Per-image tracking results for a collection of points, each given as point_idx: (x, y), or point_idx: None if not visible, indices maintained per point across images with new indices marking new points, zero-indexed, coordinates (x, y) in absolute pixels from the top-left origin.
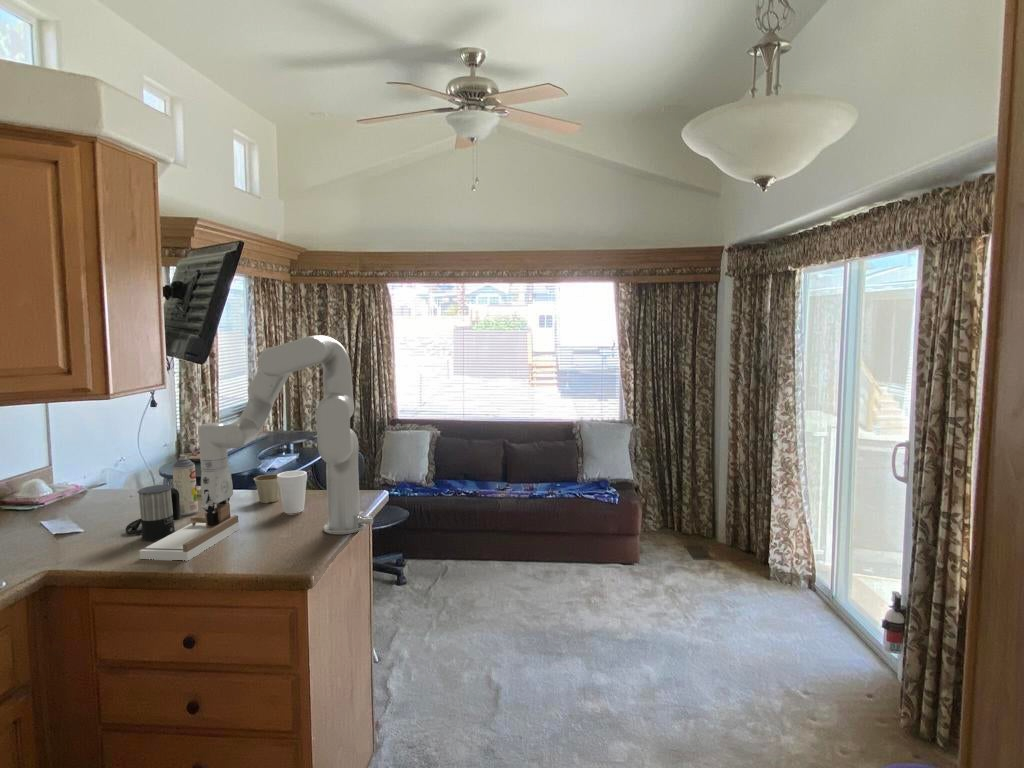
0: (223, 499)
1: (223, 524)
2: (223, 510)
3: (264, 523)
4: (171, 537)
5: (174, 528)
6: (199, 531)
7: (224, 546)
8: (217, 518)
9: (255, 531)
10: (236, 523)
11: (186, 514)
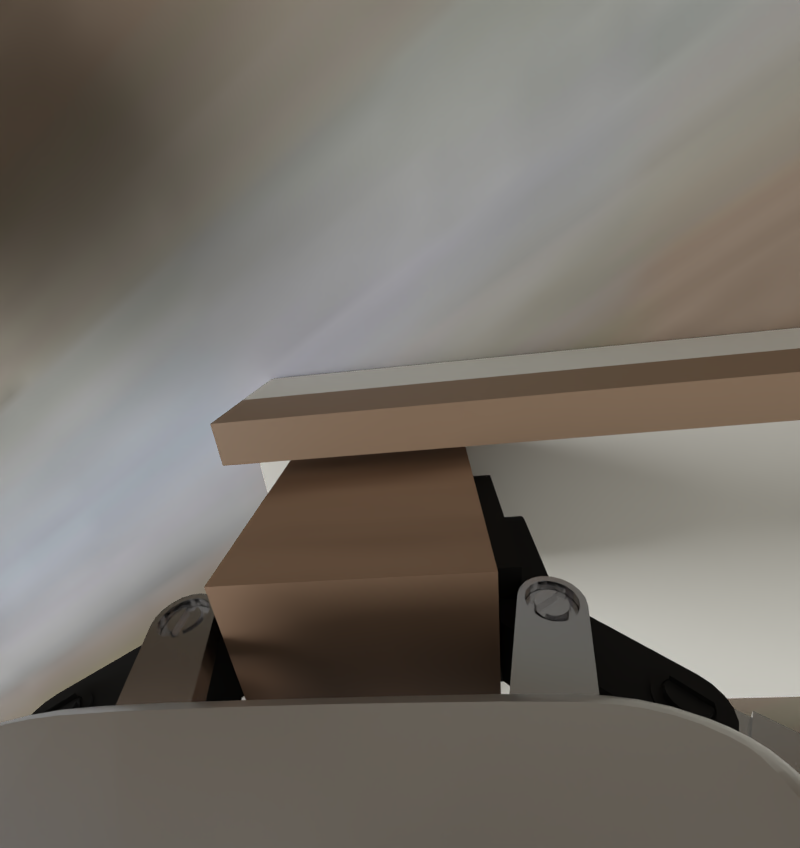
0: (410, 728)
1: (533, 392)
2: (410, 539)
3: (54, 247)
4: (704, 662)
5: None
6: (562, 562)
7: (714, 210)
8: (497, 515)
9: (270, 179)
10: (282, 394)
11: None
